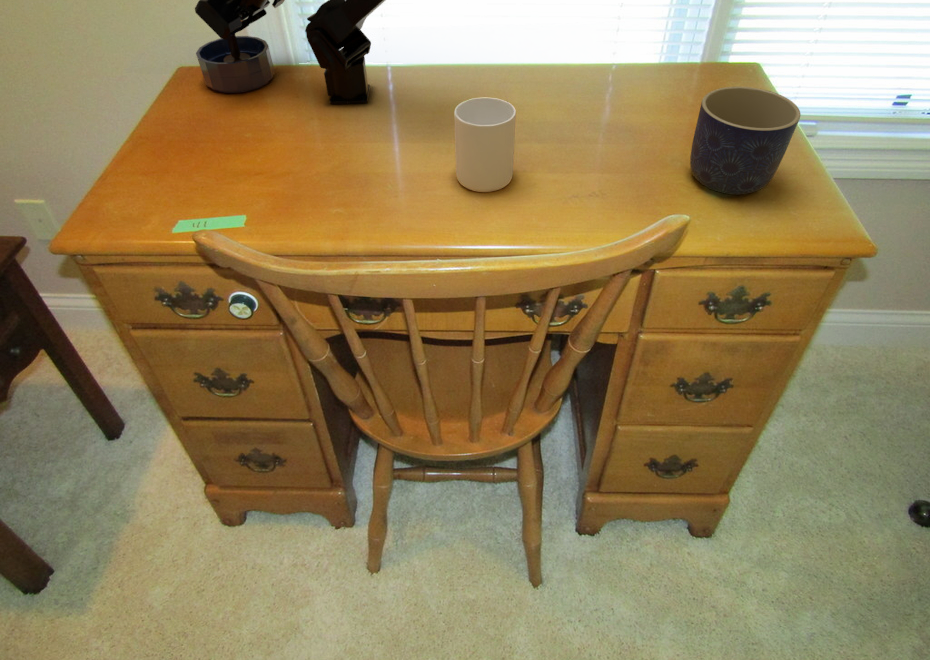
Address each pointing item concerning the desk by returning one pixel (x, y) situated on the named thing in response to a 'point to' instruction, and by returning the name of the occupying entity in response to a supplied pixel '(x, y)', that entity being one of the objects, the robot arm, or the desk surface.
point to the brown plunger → (235, 51)
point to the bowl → (236, 65)
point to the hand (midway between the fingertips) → (224, 34)
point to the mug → (484, 143)
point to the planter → (741, 138)
